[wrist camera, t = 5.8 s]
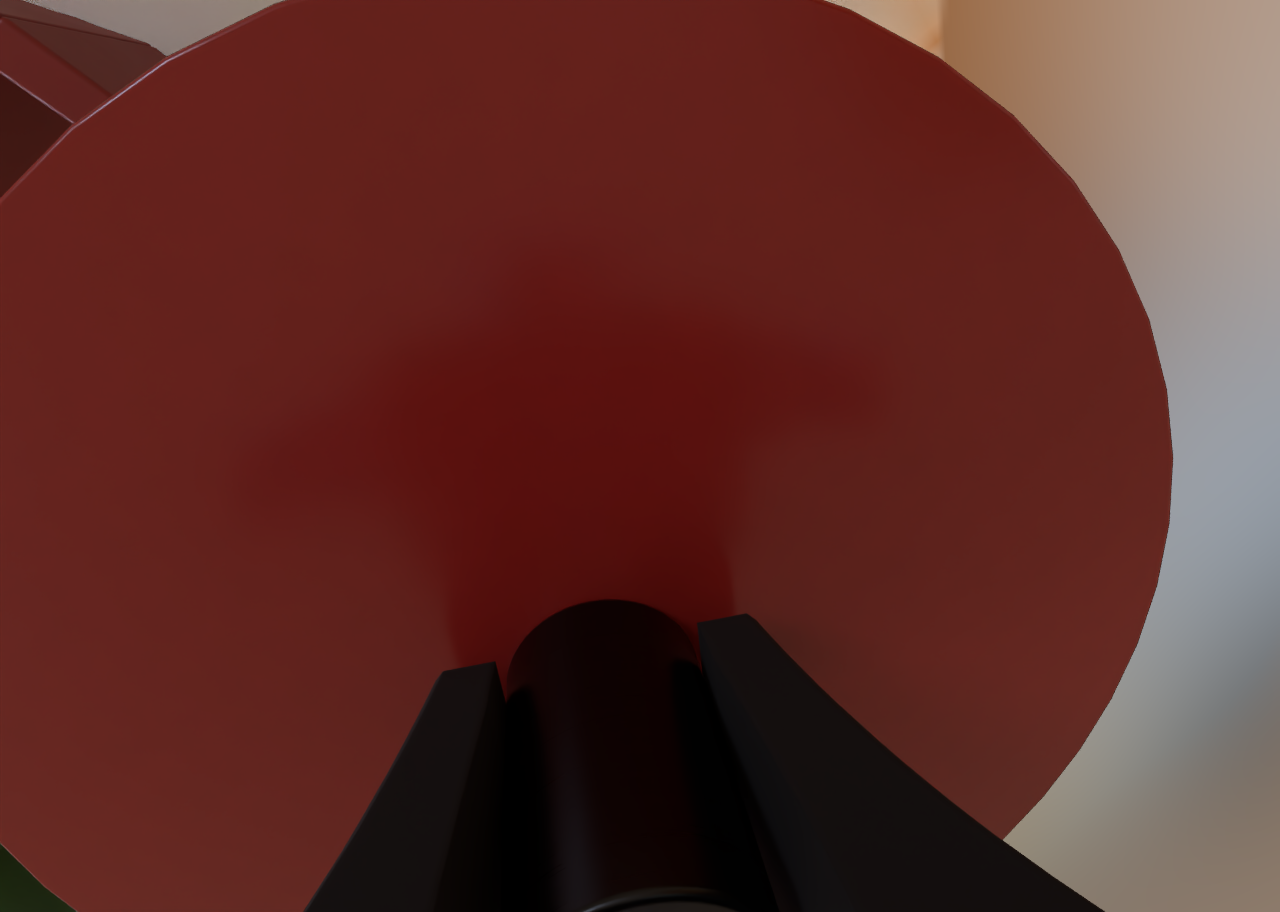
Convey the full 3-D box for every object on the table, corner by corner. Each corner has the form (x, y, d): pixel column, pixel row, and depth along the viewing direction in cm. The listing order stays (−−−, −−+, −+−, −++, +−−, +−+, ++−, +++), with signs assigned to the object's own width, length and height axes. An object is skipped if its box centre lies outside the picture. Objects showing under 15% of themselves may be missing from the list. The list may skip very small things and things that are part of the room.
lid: (949, -372, 6) (1871, -1439, 2) (1179, 725, 13) (1515, 1033, 9) (-420, 441, 8) (-1751, 893, 3) (432, 1077, 14) (392, 1511, 10)
